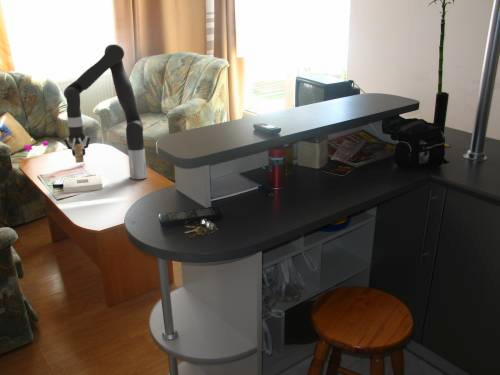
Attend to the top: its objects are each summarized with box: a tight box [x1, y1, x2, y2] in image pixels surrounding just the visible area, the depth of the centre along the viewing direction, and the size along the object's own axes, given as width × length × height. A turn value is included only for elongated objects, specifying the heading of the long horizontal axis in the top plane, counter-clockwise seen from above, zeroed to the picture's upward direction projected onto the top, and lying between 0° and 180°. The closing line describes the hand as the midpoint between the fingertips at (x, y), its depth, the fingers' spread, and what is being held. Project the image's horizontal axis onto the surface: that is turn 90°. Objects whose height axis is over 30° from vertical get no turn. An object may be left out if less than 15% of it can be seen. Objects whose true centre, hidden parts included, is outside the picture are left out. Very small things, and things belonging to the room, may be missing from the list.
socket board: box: [62, 174, 104, 194], centre depth 275 cm, size 20×16×3 cm
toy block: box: [23, 141, 50, 151], centre depth 336 cm, size 15×6×8 cm, turn 137°
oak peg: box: [74, 143, 85, 164], centre depth 271 cm, size 4×4×10 cm
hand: (79, 155), depth 271 cm, fingers closed on oak peg, 4 cm apart
